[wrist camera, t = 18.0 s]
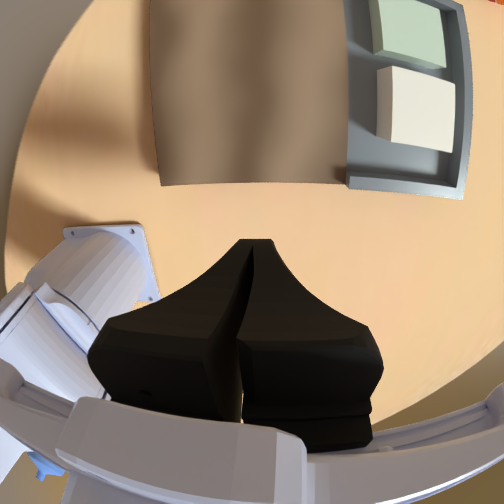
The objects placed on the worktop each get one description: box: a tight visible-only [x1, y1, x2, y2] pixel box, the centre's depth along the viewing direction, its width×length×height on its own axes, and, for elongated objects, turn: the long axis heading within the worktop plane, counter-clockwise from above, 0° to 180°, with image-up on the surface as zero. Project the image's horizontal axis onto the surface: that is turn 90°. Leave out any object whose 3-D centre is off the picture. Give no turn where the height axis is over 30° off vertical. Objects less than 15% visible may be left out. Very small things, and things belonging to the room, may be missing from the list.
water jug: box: [27, 451, 65, 481], centre depth 54 cm, size 16×16×28 cm
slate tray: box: [343, 0, 473, 200], centre depth 12 cm, size 9×15×3 cm, turn 2°
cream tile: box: [376, 66, 455, 153], centre depth 12 cm, size 4×4×2 cm
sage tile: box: [368, 0, 446, 69], centre depth 10 cm, size 4×4×2 cm
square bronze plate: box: [149, 0, 349, 186], centre depth 14 cm, size 12×15×2 cm
